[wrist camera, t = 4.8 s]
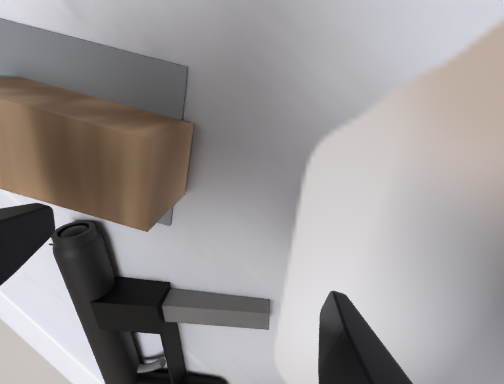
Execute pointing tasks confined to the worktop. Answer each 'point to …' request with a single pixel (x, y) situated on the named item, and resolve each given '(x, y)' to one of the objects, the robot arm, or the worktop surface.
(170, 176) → the walnut block
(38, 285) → the worktop surface
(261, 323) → the door handle
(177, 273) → the worktop surface
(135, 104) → the mat
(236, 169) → the worktop surface
